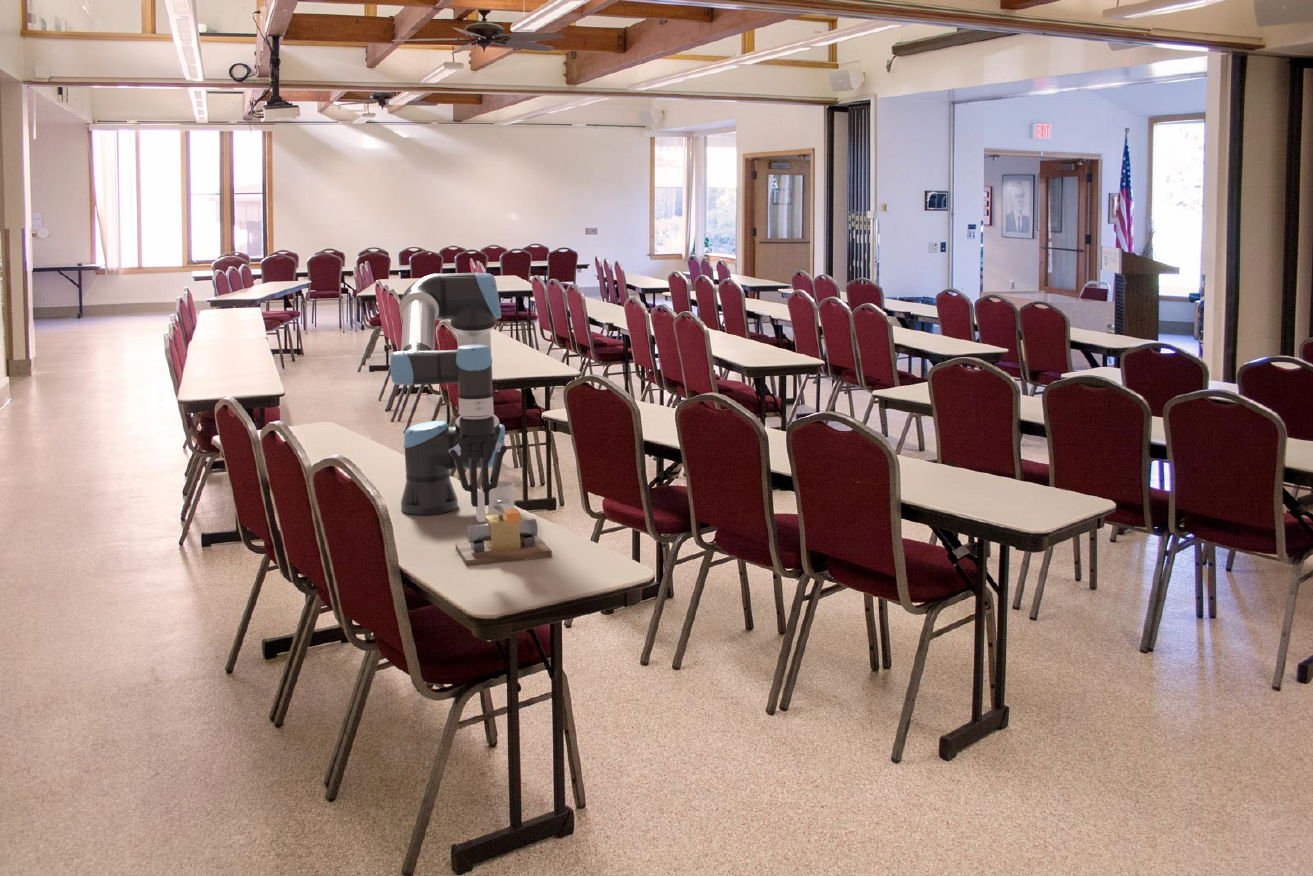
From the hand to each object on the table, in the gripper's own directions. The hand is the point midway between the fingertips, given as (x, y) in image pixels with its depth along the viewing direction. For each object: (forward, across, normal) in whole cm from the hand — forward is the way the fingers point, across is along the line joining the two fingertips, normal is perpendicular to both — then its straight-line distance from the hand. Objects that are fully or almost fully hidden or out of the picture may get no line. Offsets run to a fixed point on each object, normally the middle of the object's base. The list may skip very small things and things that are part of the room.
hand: (480, 519), depth 252 cm
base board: (+12, +7, +11) cm, 18 cm away
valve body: (+10, +7, +11) cm, 17 cm away
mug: (+12, +11, +32) cm, 36 cm away
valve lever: (+1, +7, +6) cm, 9 cm away
